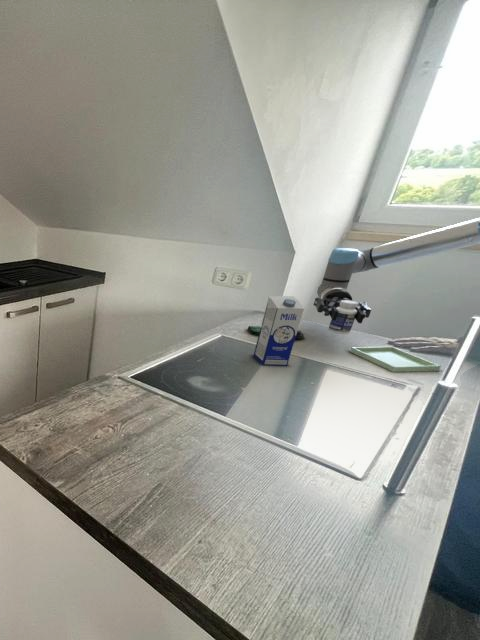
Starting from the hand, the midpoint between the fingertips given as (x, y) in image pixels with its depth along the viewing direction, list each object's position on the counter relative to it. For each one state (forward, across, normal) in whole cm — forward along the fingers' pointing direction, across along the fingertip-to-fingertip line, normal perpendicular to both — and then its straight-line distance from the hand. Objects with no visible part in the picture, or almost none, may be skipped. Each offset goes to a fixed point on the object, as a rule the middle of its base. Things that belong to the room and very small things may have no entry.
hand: (348, 317), depth 117 cm
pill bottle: (-5, 0, -6) cm, 8 cm away
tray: (-4, -14, -13) cm, 20 cm away
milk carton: (+12, +17, -13) cm, 25 cm away
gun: (-15, +15, -13) cm, 25 cm away
